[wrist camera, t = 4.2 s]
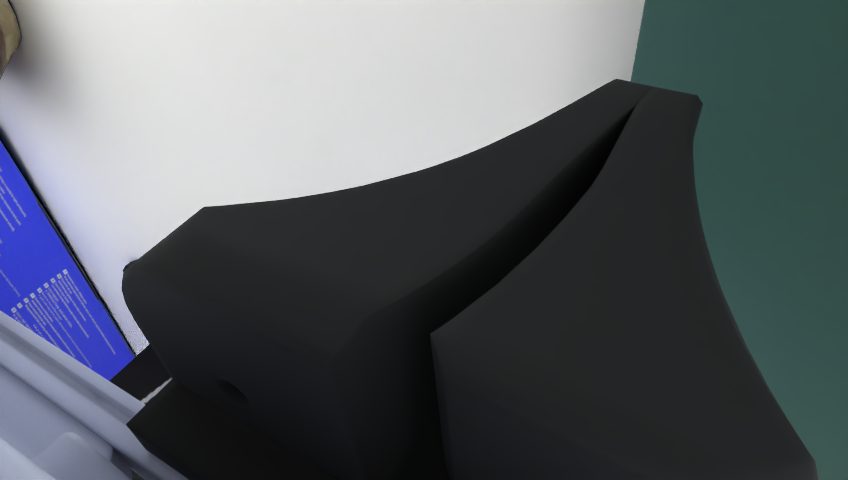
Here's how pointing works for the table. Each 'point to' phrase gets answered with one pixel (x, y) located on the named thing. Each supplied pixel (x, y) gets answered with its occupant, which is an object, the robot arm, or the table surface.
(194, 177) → the table surface
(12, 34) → the ceramic jug
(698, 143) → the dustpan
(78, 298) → the blue cardboard box
